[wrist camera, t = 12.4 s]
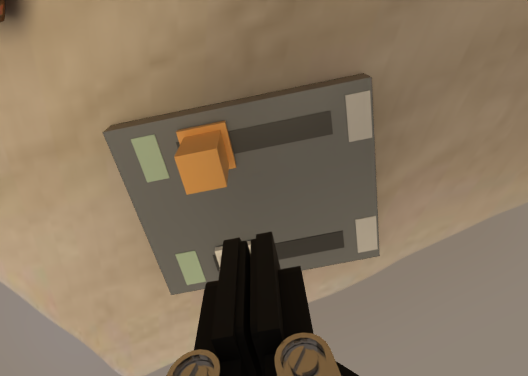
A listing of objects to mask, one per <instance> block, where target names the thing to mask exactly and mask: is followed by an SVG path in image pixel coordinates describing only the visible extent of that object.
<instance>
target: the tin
mask: <svg viewBox="0 0 528 376" xmlns="http://www.w3.org/2000/svg"><path fill="white" fill-rule="evenodd" d="M4 18H5V1H4V0H0V22H2V21H4Z"/></svg>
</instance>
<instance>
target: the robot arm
mask: <svg viewBox="0 0 528 376" xmlns="http://www.w3.org/2000/svg"><path fill="white" fill-rule="evenodd" d="M166 376H359V375H357V374H356V373H354V372H352V371H351V370H349V369H348V368H346V367H344V366H343V365H341V364H340V363H338V362H336V361H335V359H334V356H333V354H332V352H331V349H330V348H329V346H328V344H327V343H326V341H324V340H323V339H322V338H321V337H319V336H317V335H314V334H313V329H312V324H311V319H310V313H309V308H308V302H307V297H306V292H305V287H304V282H303V276H302V271H301V266H296V267H290V268H285V269H281V268H280V264H279V259H278V255H277V251H276V246H275V242H274V238H273V234H272V231H271V232H266V233H261V234H256V239H251V254H250V250H249V247H248V243H247V241H241V239H240V237H239V238H233V239H228V240H224V241H223V248H222V256H221V264H220V272H219V280H217V281H211V282H207V283H206V285H205V290H204V296H203V301H202V307H201V313H200V319H199V324H198V330H197V336H196V342H195V347H194V351H191V352H188V353H186V354H184V355H183V356H181V357H180V358H179V359H177V360H176V362H175V363H174V364H173V365H172V366H171V368H170V369H169V371H168V374H167V375H166Z"/></svg>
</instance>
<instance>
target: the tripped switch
mask: <svg viewBox="0 0 528 376" xmlns="http://www.w3.org/2000/svg"><path fill="white" fill-rule="evenodd" d="M176 134H177V137H178V140H179V143H180V146H179V148H178V150H177V152H176V154H175V156H174V158H175V161H176V164H177V167H178V170H179V173H180V176H181V179H182V182H183V185H184V188H185V191H186V194H187V195H188V194H193V193H198V192H203V191H209V190H214V189H219V188H224V187H227V182H228V171H229V169H233V168H236V162H235V157H234V153H233V149H232V145H231V141H230V137H229V133H228V129H227V125H226V121H220V122H215V123H210V124H205V125H200V126H196V127H191V128H186V129H181V130H177V132H176Z"/></svg>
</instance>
